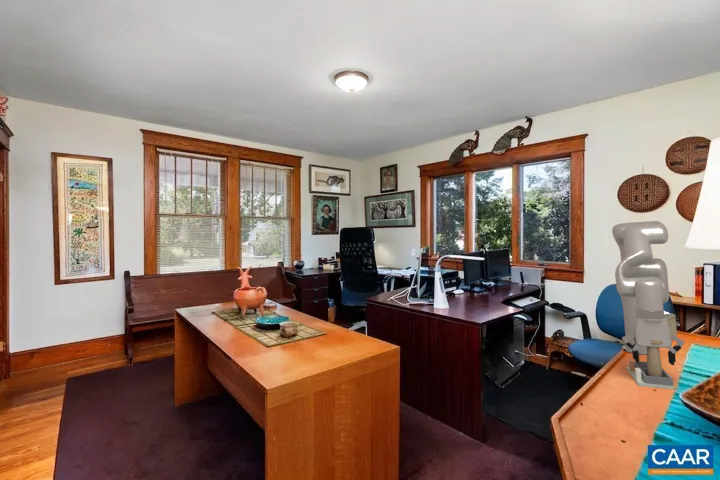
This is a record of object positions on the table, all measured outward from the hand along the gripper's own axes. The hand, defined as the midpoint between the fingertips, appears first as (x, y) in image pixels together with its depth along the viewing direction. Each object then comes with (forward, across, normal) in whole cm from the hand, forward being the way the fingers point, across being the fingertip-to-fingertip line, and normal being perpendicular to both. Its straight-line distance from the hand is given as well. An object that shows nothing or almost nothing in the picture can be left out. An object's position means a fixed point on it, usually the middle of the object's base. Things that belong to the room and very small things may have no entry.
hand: (653, 362), depth 123 cm
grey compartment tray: (+7, +1, -4) cm, 9 cm away
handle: (+6, 0, 0) cm, 7 cm away
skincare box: (+7, -22, -72) cm, 76 cm away
